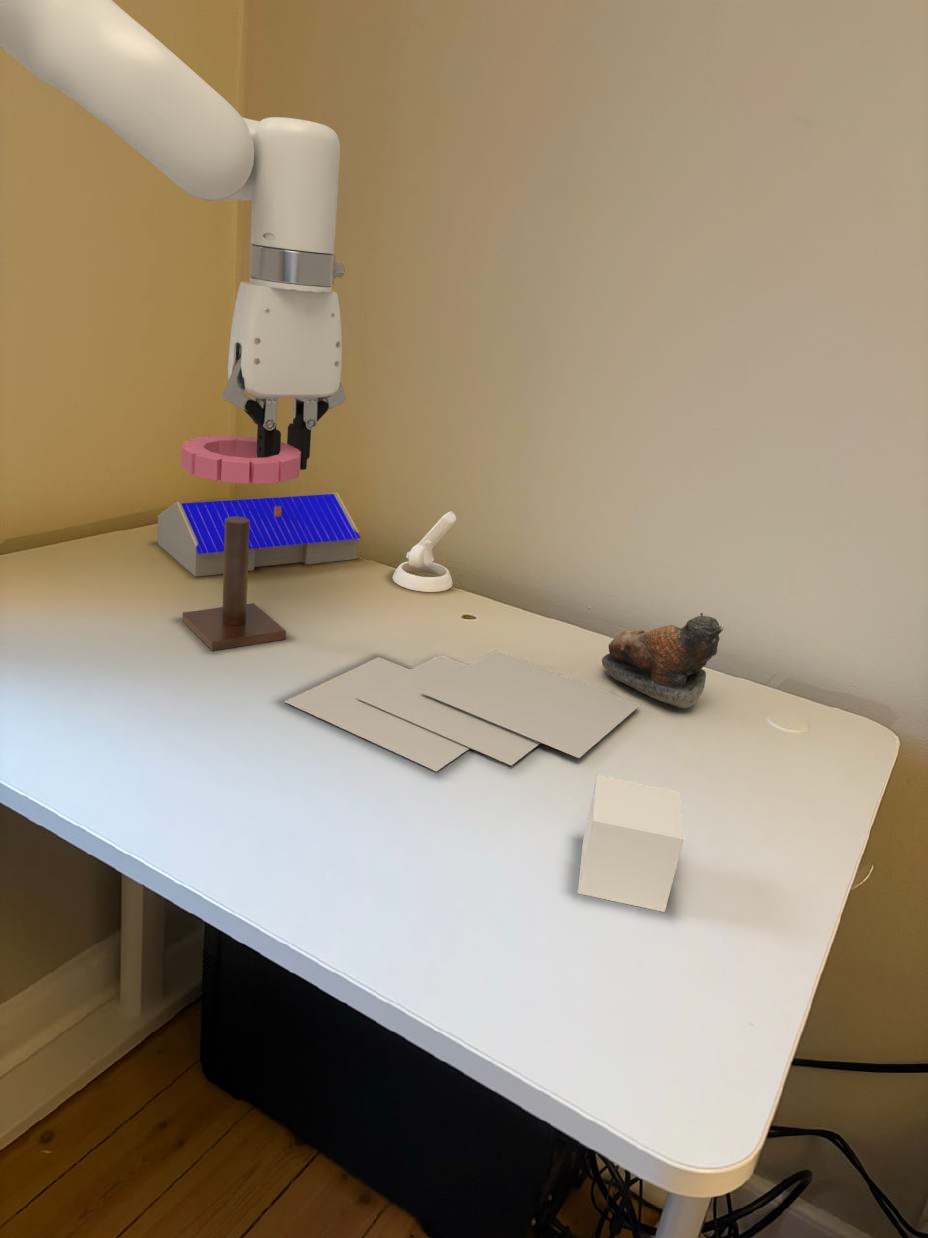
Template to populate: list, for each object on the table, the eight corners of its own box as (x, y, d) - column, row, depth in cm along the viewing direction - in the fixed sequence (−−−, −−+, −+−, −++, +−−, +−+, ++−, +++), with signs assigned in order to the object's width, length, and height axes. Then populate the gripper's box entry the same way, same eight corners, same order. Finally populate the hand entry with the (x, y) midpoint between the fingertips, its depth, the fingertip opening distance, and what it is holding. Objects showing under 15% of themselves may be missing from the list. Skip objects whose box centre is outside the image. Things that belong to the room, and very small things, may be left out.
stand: (212, 651, 91) (214, 535, 86) (182, 620, 96) (183, 510, 92) (285, 639, 95) (292, 528, 91) (253, 611, 101) (257, 506, 97)
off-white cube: (582, 843, 69) (596, 774, 66) (662, 860, 68) (680, 791, 66) (577, 894, 63) (593, 820, 61) (665, 913, 62) (683, 839, 60)
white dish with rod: (475, 567, 108) (430, 526, 107) (419, 622, 115) (378, 584, 115) (496, 539, 114) (454, 500, 113) (442, 593, 121) (402, 557, 121)
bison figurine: (586, 676, 96) (603, 586, 92) (629, 663, 101) (647, 577, 97) (679, 726, 88) (702, 630, 84) (720, 709, 93) (744, 618, 89)
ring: (209, 486, 82) (209, 464, 81) (165, 456, 90) (165, 436, 89) (319, 481, 88) (320, 460, 88) (269, 453, 96) (270, 434, 95)
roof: (197, 578, 108) (198, 518, 105) (155, 542, 118) (155, 486, 115) (359, 560, 121) (364, 506, 118) (309, 528, 131) (312, 478, 128)
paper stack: (524, 812, 71) (525, 804, 71) (284, 702, 83) (284, 695, 82) (639, 710, 90) (641, 704, 90) (430, 632, 101) (431, 626, 101)
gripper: (347, 274, 92) (335, 455, 99) (191, 259, 83) (190, 460, 90) (386, 282, 87) (371, 473, 94) (225, 267, 77) (220, 480, 84)
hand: (282, 465), depth 92 cm, fingers closed on ring, 2 cm apart
